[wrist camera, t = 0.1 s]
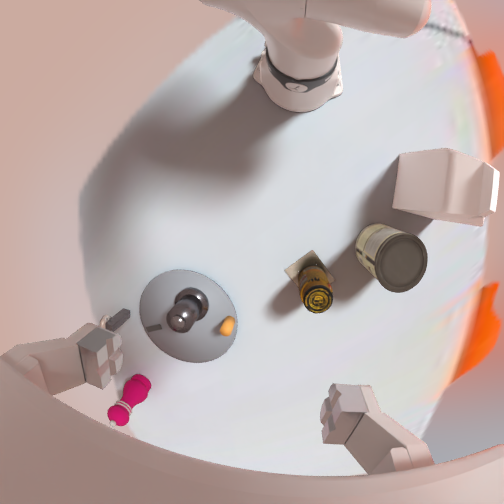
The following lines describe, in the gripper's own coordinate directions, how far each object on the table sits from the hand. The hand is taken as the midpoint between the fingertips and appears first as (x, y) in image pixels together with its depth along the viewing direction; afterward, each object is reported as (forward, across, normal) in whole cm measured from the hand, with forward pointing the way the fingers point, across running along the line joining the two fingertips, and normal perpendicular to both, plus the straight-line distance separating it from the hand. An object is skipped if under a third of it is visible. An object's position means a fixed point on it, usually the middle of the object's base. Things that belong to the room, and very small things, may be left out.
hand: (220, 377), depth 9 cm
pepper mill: (+48, +28, +52) cm, 76 cm away
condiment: (+48, -10, +9) cm, 50 cm away
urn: (+46, +14, +20) cm, 52 cm away
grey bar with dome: (+48, +32, +29) cm, 65 cm away
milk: (+48, -30, -15) cm, 59 cm away
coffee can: (+48, -23, 0) cm, 53 cm away
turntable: (+47, +15, +25) cm, 55 cm away
